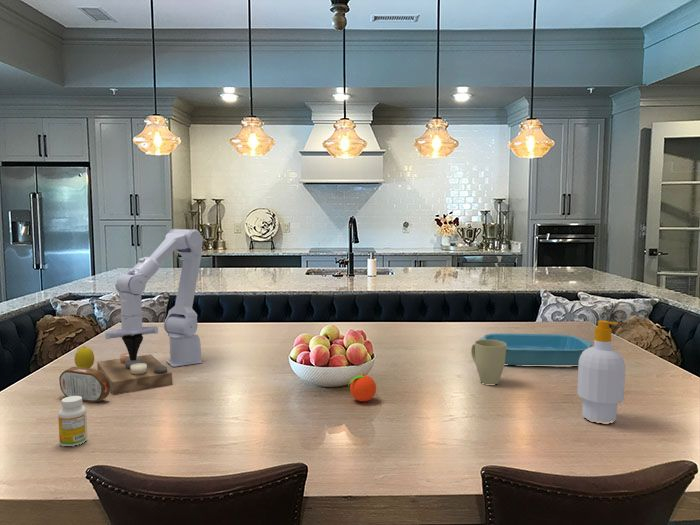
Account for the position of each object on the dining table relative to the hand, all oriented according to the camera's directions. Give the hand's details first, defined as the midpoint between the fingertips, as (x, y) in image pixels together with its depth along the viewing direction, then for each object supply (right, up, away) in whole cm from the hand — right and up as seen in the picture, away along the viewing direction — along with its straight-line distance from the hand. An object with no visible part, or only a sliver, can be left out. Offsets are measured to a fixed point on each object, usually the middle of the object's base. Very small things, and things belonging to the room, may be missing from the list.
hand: (133, 359), depth 163 cm
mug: (+105, -7, -2) cm, 105 cm away
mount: (0, -6, +1) cm, 6 cm away
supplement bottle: (+5, -10, -44) cm, 46 cm away
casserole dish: (+127, -5, +23) cm, 129 cm away
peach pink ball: (-4, -5, +6) cm, 9 cm away
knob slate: (0, -5, 0) cm, 5 cm away
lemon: (-18, -5, +8) cm, 20 cm away
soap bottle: (+125, -9, -30) cm, 129 cm away
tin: (-6, -8, -18) cm, 20 cm away
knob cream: (+4, -6, -5) cm, 9 cm away
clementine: (+68, -8, -18) cm, 70 cm away
